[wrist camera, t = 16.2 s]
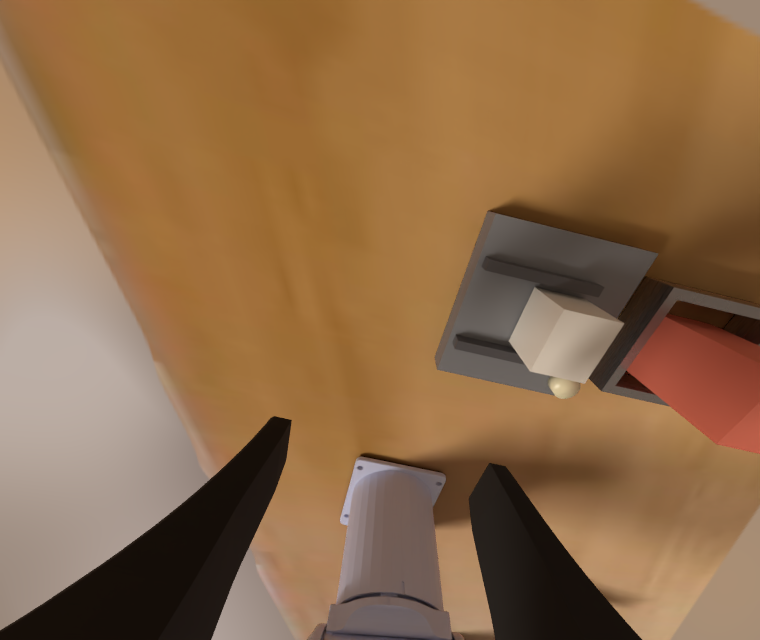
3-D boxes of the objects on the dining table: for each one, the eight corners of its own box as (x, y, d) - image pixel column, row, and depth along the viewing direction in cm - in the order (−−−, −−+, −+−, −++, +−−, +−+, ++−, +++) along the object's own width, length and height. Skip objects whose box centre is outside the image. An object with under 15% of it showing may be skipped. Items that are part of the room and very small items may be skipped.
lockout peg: (669, 373, 20) (793, 461, 14) (615, 361, 20) (716, 444, 14) (709, 323, 18) (873, 396, 12) (651, 309, 18) (785, 376, 12)
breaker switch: (554, 351, 18) (584, 383, 15) (508, 341, 18) (530, 371, 15) (584, 298, 16) (624, 323, 14) (534, 287, 16) (564, 309, 13)
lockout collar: (678, 394, 21) (705, 414, 19) (583, 372, 20) (601, 391, 19) (755, 303, 18) (796, 317, 16) (645, 276, 17) (674, 287, 16)
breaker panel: (555, 384, 21) (572, 406, 19) (434, 357, 21) (438, 376, 18) (637, 248, 17) (671, 257, 15) (487, 210, 16) (500, 214, 14)
